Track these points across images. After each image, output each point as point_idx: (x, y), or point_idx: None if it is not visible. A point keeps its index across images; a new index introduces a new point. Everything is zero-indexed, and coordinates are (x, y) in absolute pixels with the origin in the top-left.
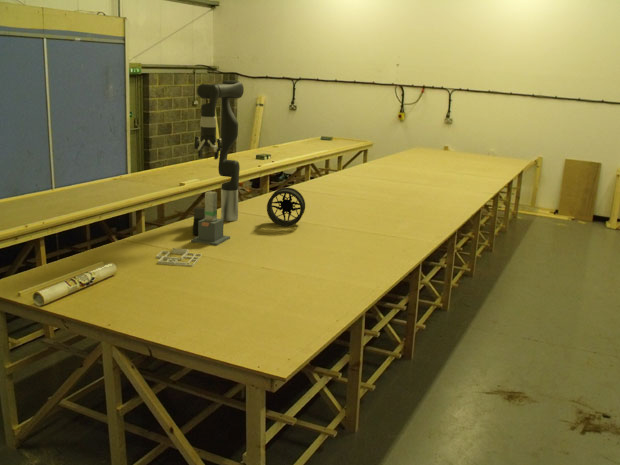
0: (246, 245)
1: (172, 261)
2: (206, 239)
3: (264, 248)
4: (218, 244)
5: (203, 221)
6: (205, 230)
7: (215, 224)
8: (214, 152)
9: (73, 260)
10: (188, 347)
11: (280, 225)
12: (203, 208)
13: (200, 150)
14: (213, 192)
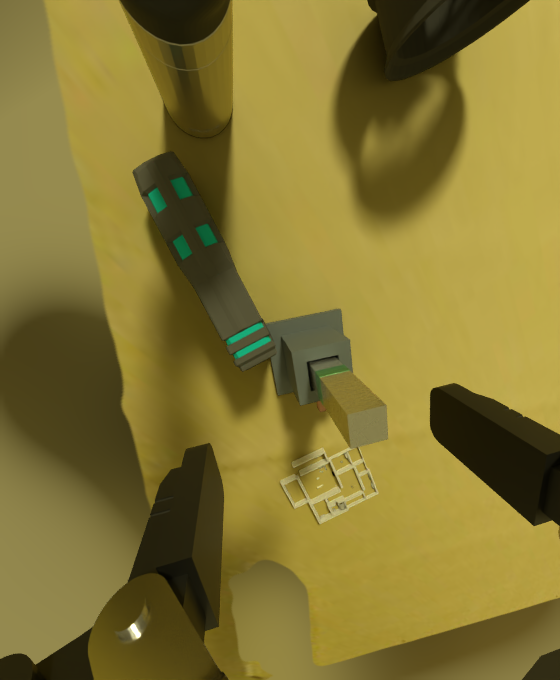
0: (402, 331)
1: (340, 506)
2: None
3: (446, 323)
4: None
5: (314, 397)
6: None
7: None
8: (528, 518)
9: None
10: (492, 615)
11: (407, 75)
12: (269, 350)
13: (203, 614)
14: (376, 419)
